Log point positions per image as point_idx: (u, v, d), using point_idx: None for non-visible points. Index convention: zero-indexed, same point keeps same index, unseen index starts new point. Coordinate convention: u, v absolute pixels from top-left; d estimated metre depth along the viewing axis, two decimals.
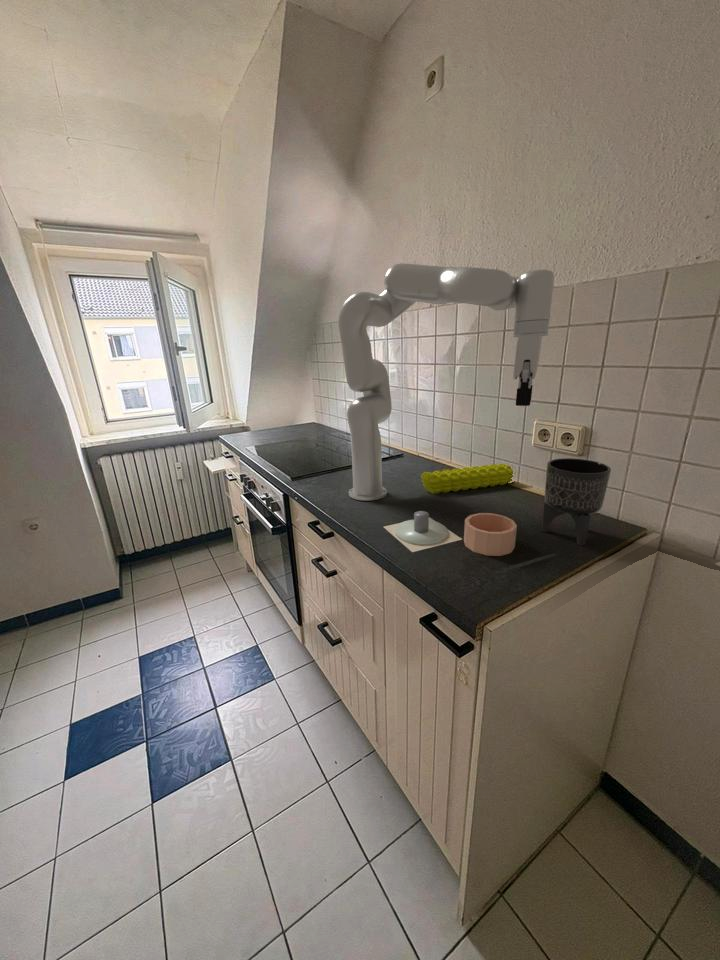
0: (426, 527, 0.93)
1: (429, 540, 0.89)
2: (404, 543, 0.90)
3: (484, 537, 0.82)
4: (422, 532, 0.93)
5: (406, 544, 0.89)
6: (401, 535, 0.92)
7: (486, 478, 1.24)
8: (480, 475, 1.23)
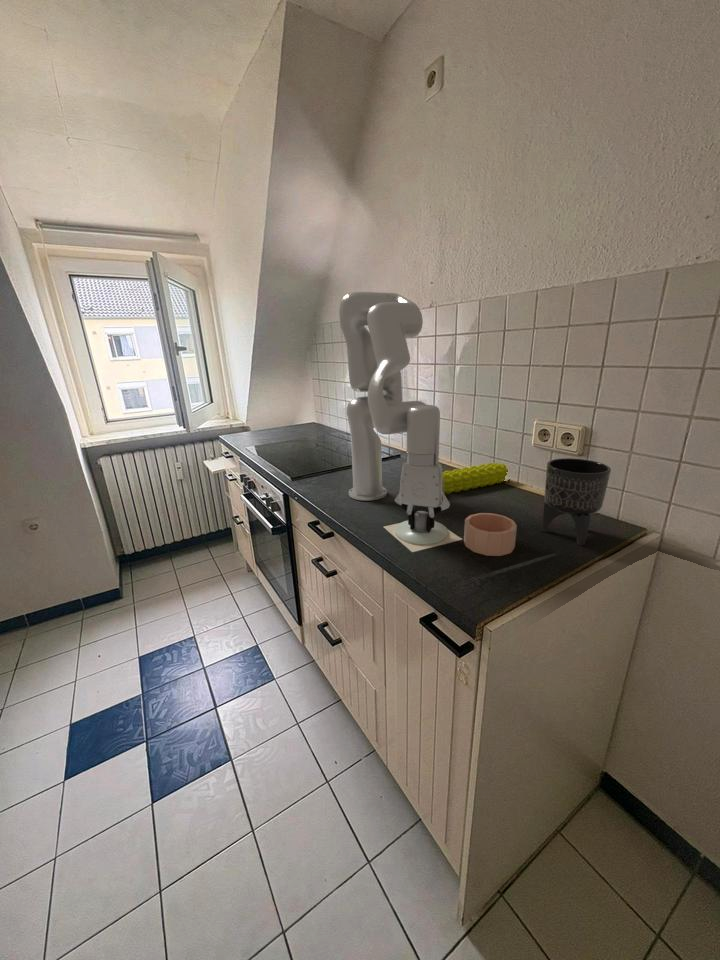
0: (426, 527, 0.93)
1: (429, 540, 0.89)
2: (404, 543, 0.90)
3: (484, 537, 0.82)
4: (422, 532, 0.93)
5: (406, 544, 0.89)
6: (401, 535, 0.92)
7: (486, 477, 1.25)
8: (480, 475, 1.24)
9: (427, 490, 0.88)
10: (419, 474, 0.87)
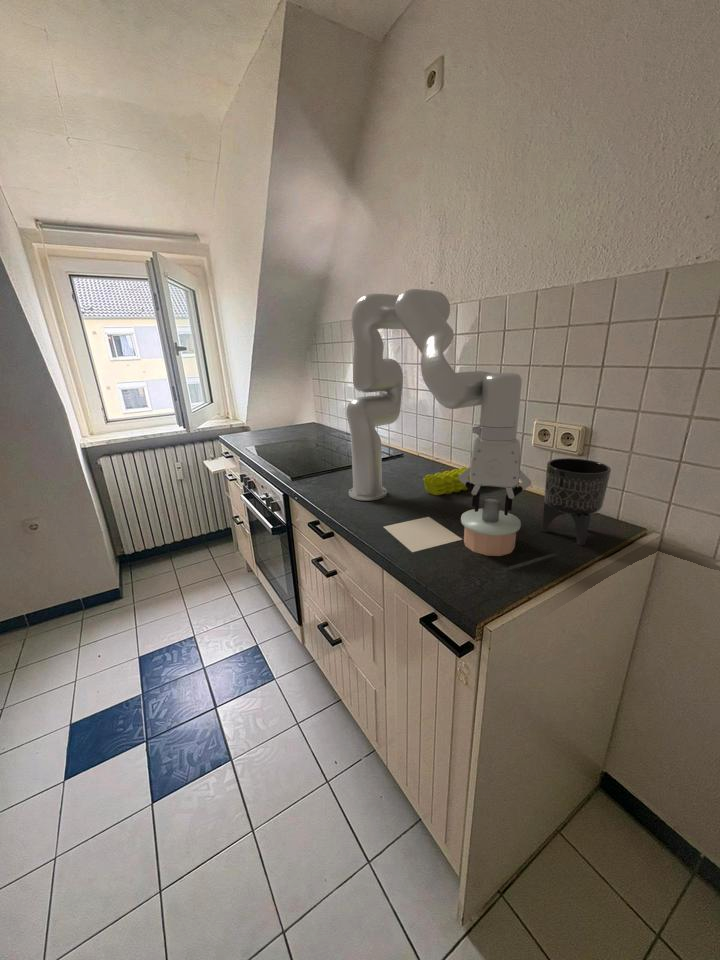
0: (497, 516, 0.85)
1: (503, 530, 0.81)
2: (404, 543, 0.90)
3: (484, 537, 0.82)
4: (493, 522, 0.85)
5: (406, 544, 0.89)
6: (470, 525, 0.84)
7: None
8: None
9: (504, 468, 0.79)
10: (495, 450, 0.79)
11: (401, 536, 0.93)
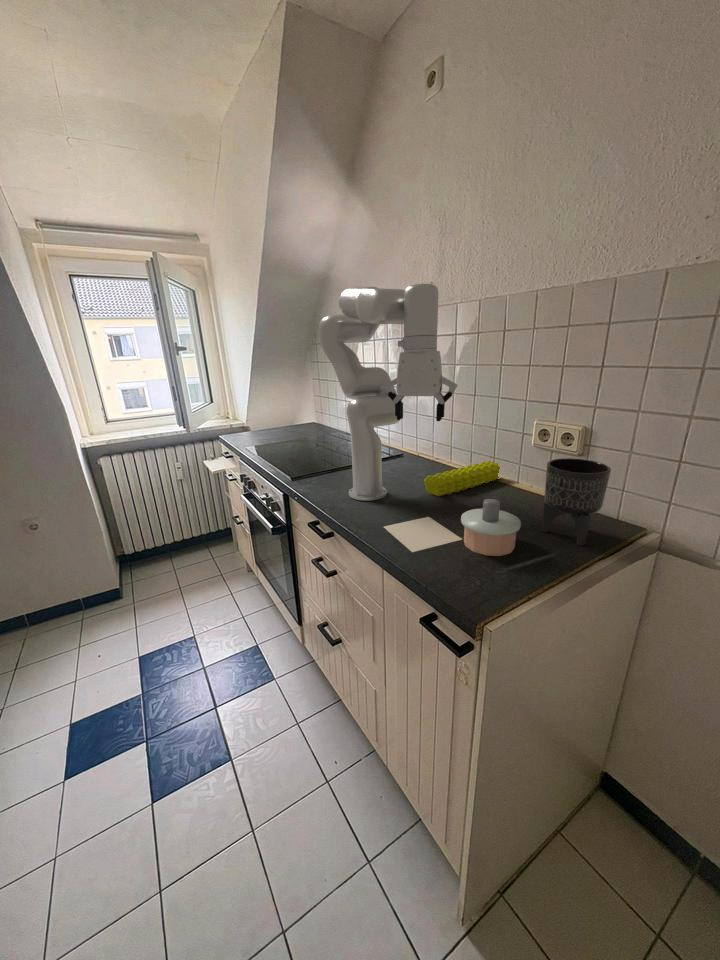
0: (497, 516, 0.85)
1: (503, 530, 0.81)
2: (404, 543, 0.90)
3: (484, 537, 0.82)
4: (493, 522, 0.85)
5: (406, 544, 0.89)
6: (470, 525, 0.84)
7: (482, 476, 1.26)
8: (478, 474, 1.25)
9: (425, 376, 0.85)
10: (417, 359, 0.84)
11: (401, 536, 0.93)
